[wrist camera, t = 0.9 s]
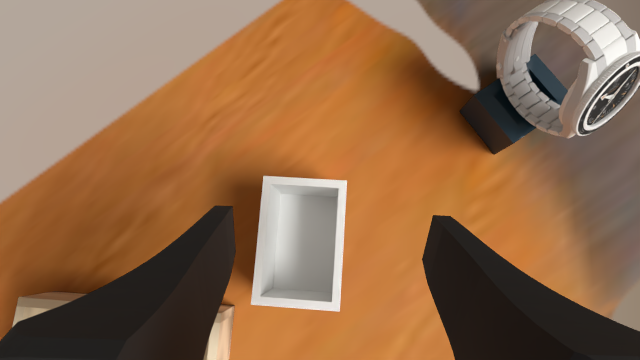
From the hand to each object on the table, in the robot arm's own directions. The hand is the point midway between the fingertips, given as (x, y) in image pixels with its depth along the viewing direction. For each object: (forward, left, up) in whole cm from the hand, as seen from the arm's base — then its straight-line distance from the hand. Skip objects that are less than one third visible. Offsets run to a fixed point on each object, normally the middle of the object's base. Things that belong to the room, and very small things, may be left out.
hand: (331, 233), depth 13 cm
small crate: (0, +2, -15) cm, 15 cm away
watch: (+11, -13, -15) cm, 22 cm away
